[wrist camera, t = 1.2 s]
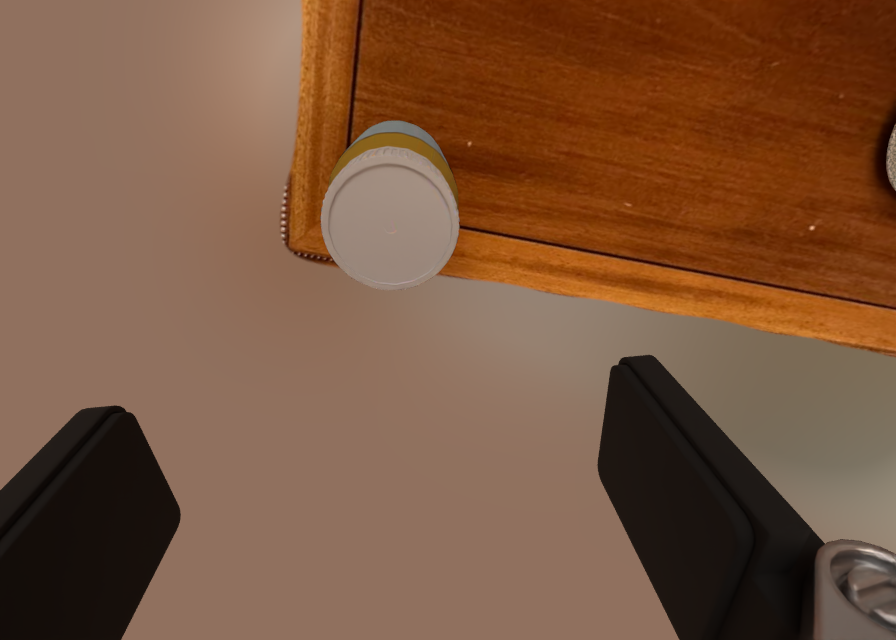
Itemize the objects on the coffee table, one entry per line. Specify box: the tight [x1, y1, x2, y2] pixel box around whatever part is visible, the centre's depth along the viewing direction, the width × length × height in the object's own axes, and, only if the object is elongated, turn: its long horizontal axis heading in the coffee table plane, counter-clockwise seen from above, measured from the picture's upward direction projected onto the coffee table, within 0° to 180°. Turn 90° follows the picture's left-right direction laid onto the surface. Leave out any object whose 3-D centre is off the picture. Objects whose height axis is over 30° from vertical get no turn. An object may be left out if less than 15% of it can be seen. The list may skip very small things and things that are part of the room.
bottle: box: [320, 121, 459, 290], centre depth 27 cm, size 7×7×15 cm
